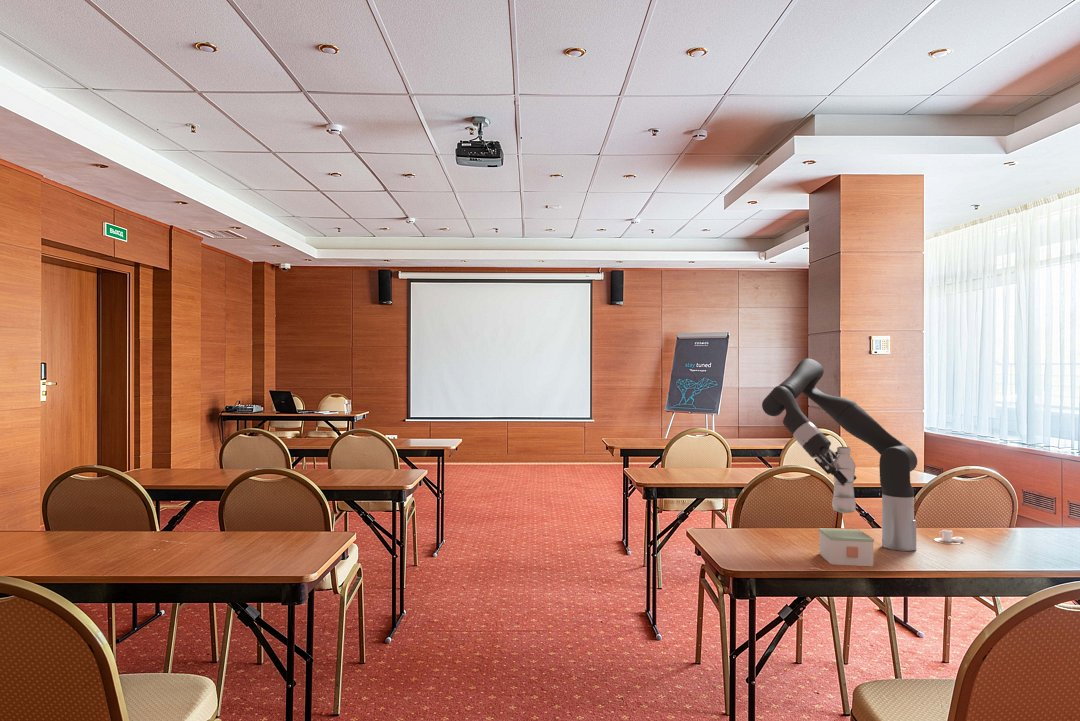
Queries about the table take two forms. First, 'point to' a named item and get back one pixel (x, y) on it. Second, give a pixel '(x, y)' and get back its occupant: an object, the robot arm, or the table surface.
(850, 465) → the plastic bottle
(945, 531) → the teacup and saucer
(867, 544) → the raised stand
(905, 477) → the robot arm
